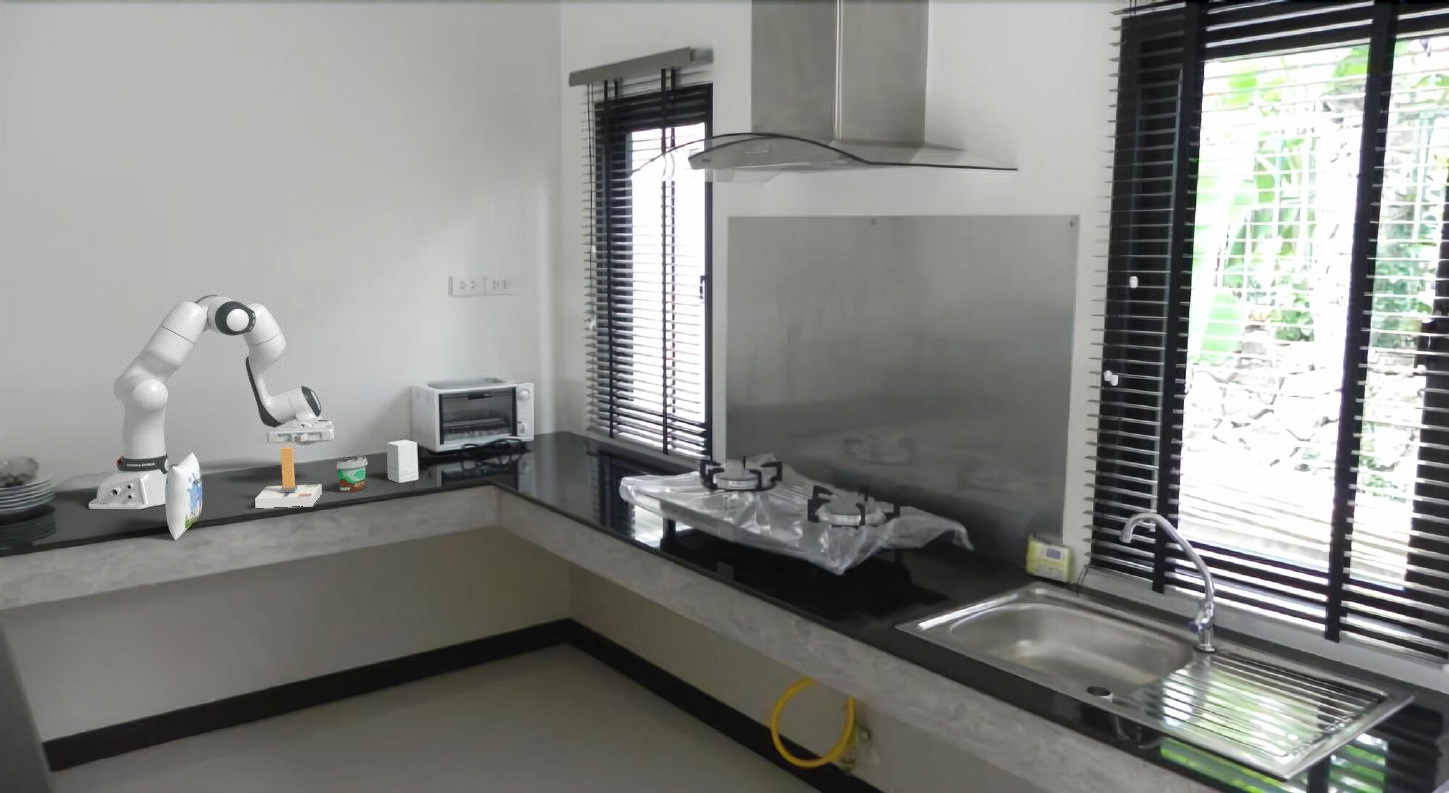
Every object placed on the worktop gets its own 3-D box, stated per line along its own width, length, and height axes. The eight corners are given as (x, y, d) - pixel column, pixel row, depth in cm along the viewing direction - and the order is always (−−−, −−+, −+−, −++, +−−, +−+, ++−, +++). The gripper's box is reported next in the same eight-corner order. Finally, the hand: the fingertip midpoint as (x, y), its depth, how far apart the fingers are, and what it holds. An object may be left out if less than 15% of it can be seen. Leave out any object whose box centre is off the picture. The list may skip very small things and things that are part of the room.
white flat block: (255, 508, 312) (255, 498, 311) (267, 495, 327) (266, 486, 327) (313, 506, 315) (312, 496, 314) (321, 493, 330) (321, 484, 330)
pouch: (157, 541, 278) (152, 466, 275) (182, 522, 296) (178, 452, 293) (190, 540, 279) (185, 466, 276) (213, 521, 298) (208, 451, 295)
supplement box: (419, 479, 351) (417, 442, 349) (398, 483, 345) (397, 445, 344) (407, 476, 356) (406, 439, 354) (387, 479, 350) (385, 442, 348)
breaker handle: (280, 492, 318) (278, 449, 316) (283, 488, 322) (281, 446, 321) (294, 491, 318) (292, 449, 317) (297, 487, 323) (295, 446, 321)
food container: (355, 494, 330) (354, 463, 328) (337, 493, 331) (336, 462, 329) (376, 485, 342) (374, 455, 340) (358, 484, 343) (357, 454, 341)
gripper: (270, 423, 344) (261, 431, 331) (336, 420, 348) (330, 428, 335) (271, 442, 345) (262, 450, 332) (338, 439, 349) (331, 447, 336)
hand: (297, 439), depth 333 cm, fingers closed
